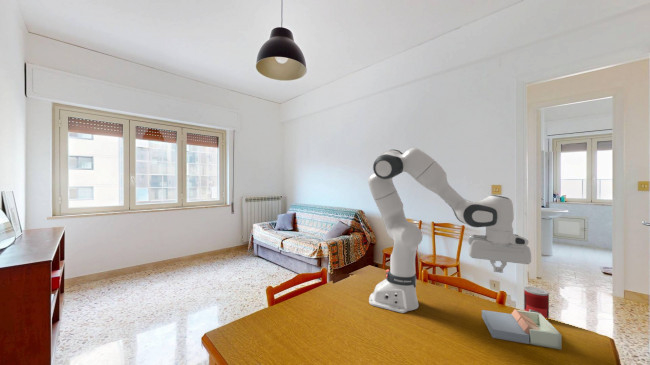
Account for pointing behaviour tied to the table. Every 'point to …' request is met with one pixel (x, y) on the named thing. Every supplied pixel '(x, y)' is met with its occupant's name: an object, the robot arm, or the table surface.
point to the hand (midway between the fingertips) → (497, 272)
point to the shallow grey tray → (504, 326)
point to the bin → (543, 332)
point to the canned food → (536, 301)
